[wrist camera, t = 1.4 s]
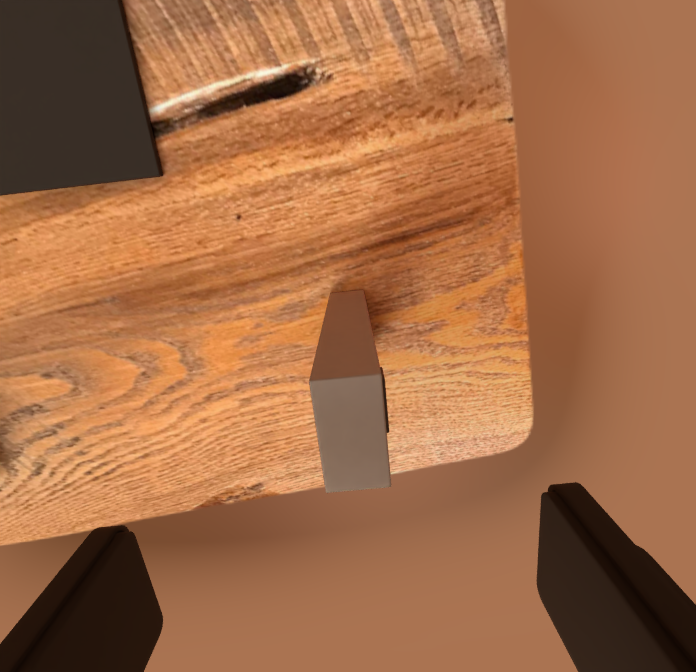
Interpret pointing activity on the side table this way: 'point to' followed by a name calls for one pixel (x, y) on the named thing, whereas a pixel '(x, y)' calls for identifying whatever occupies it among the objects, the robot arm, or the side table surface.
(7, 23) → the mat
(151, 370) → the side table surface
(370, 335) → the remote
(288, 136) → the side table surface
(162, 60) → the side table surface
